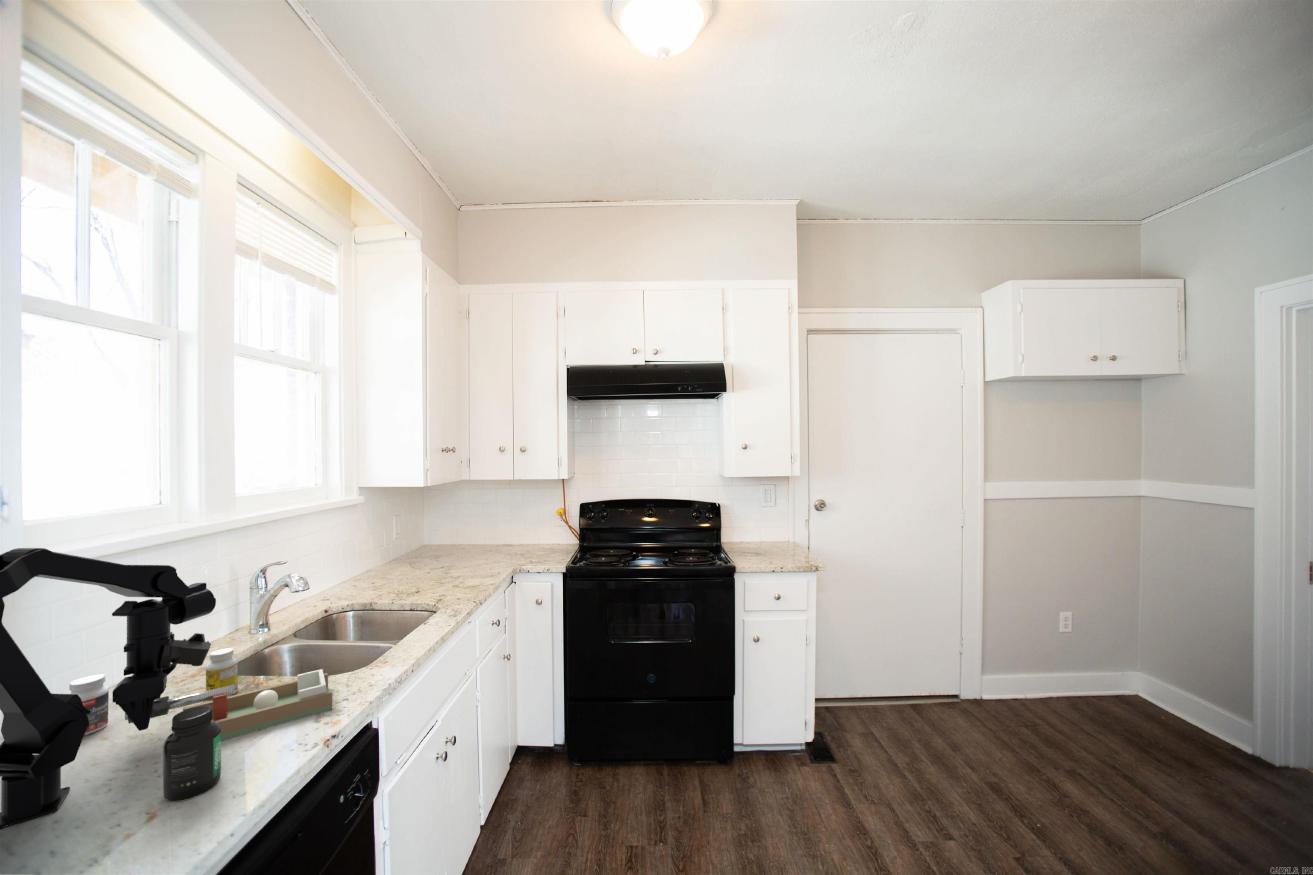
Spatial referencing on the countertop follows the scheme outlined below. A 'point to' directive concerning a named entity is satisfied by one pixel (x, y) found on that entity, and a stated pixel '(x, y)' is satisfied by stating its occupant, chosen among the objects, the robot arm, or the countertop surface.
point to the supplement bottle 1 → (191, 754)
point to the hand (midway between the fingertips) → (148, 718)
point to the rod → (194, 702)
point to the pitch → (269, 709)
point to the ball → (265, 699)
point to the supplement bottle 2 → (222, 670)
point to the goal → (311, 683)
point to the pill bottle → (93, 699)
